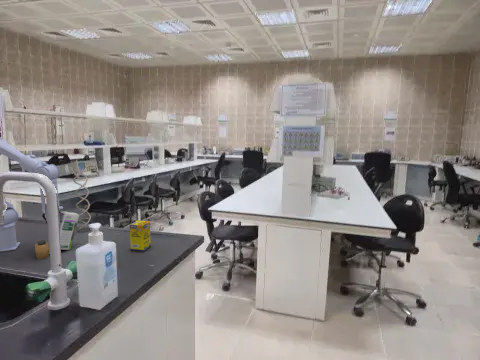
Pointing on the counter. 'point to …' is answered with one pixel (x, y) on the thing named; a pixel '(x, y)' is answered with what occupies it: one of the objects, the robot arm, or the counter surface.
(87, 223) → the dna model
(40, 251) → the amber bottle
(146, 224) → the supplement box
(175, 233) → the counter surface
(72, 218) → the syrup box
